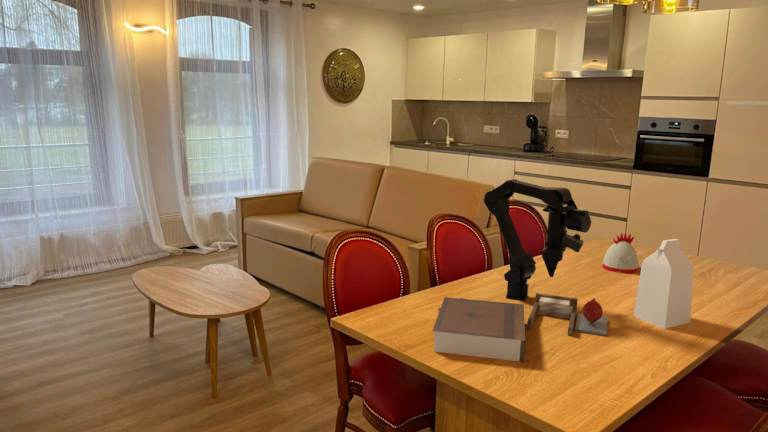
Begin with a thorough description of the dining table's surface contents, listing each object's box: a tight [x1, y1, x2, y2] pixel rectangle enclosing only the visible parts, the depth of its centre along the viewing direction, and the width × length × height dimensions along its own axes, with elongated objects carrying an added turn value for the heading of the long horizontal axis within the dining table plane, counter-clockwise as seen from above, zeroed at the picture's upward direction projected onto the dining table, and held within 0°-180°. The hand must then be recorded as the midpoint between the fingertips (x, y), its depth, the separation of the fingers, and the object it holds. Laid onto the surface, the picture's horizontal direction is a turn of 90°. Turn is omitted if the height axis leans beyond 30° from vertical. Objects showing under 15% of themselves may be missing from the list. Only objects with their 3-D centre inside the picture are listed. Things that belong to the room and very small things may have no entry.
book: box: [432, 296, 526, 363], centre depth 167 cm, size 24×28×6 cm
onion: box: [582, 297, 604, 323], centre depth 177 cm, size 6×6×8 cm
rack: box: [526, 292, 579, 337], centre depth 180 cm, size 13×20×5 cm, turn 158°
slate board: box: [574, 313, 609, 337], centre depth 178 cm, size 9×14×1 cm, turn 158°
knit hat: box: [601, 232, 640, 274], centre depth 238 cm, size 14×14×15 cm
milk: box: [632, 238, 694, 330], centre depth 181 cm, size 12×12×26 cm
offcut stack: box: [537, 297, 573, 320], centre depth 186 cm, size 11×4×4 cm, turn 68°
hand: (552, 272), depth 190 cm, fingers open, 9 cm apart
